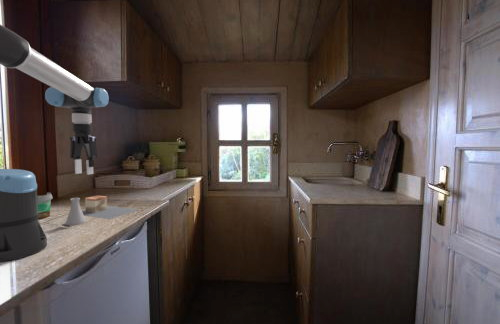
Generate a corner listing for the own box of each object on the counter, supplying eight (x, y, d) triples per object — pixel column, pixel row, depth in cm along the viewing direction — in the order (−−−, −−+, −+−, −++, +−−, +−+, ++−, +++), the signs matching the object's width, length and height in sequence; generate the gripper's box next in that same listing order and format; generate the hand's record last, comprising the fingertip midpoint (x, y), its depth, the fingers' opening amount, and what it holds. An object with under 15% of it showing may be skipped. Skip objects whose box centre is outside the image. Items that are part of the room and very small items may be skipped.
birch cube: (95, 212, 112) (95, 199, 112) (85, 211, 114) (85, 198, 114) (107, 209, 118) (106, 196, 118) (97, 208, 120) (97, 195, 120)
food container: (31, 224, 97) (29, 198, 96) (18, 223, 98) (16, 198, 98) (61, 215, 109) (60, 192, 108) (49, 214, 110) (48, 192, 110)
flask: (68, 228, 93) (67, 201, 92) (61, 224, 98) (60, 198, 97) (90, 223, 99) (89, 198, 98) (82, 220, 103) (82, 195, 103)
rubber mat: (109, 220, 103) (109, 218, 103) (71, 214, 110) (71, 213, 110) (139, 210, 118) (139, 209, 118) (104, 206, 125) (104, 205, 125)
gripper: (105, 123, 116) (107, 173, 118) (75, 124, 123) (77, 172, 124) (90, 122, 109) (92, 175, 111) (58, 123, 116) (61, 173, 117)
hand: (84, 173), depth 117 cm, fingers open, 7 cm apart
